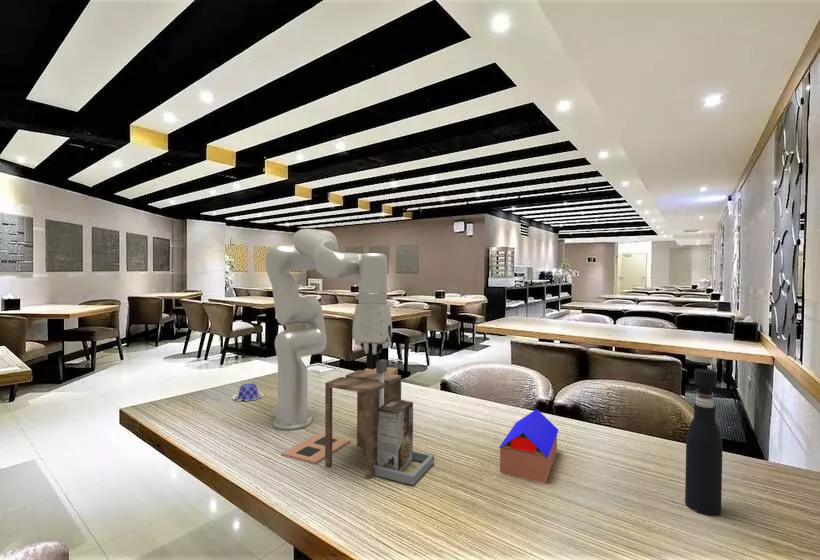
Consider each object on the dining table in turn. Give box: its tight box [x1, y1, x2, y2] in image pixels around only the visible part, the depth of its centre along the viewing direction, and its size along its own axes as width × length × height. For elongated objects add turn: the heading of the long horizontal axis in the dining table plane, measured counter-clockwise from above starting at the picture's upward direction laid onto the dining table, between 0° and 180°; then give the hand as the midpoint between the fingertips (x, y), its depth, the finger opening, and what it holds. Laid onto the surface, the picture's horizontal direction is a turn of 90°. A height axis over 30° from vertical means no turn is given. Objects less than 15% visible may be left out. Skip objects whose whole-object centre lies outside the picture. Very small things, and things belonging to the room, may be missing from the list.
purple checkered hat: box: [231, 383, 265, 402], centre depth 165 cm, size 12×12×5 cm
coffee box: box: [376, 399, 414, 472], centre depth 107 cm, size 9×6×16 cm
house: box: [498, 408, 559, 484], centre depth 110 cm, size 12×20×12 cm, turn 153°
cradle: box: [373, 359, 435, 486], centre depth 105 cm, size 13×13×27 cm
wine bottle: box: [684, 368, 723, 517], centre depth 88 cm, size 6×6×30 cm
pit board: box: [280, 432, 351, 465], centre depth 117 cm, size 12×16×1 cm
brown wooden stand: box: [324, 369, 402, 480], centre depth 110 cm, size 14×16×22 cm
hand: (372, 367), depth 109 cm, fingers closed
